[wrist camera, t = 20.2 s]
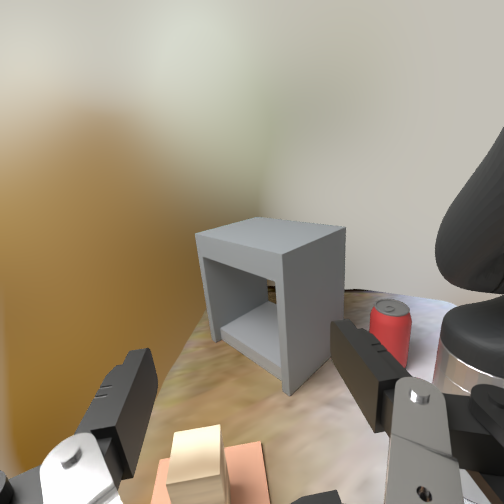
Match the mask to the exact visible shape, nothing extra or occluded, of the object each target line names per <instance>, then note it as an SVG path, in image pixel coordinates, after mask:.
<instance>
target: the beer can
mask: <svg viewBox="0 0 504 504" xmlns="http://www.w3.org/2000/svg"><path fill="white" fill-rule="evenodd" d="M409 311H410V309H409V307H408V306H407V305H406V304H404V303H403V302H400V301H398V300H394V299H381V300H378V301H376V302H375V303H374V307H373V309H372V310H371V313H370V329H369V332H370V333H371V334H373V335H374V336H375V337H376V338H377V339H378V340H379V341H380V342H381V345H382V344H383V346H384V347H385V348H386V349H387V351H388V352H390V353H391V354H392V355H393V356H394V357H395V359H396V360H397V361H398V362H399V363H400V364H401V365H402V366H403V367H404V368H405V367H406V365H407V358H408V349H409V341H410V333H411V325H412V320H411V315H410V312H409Z"/></svg>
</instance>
